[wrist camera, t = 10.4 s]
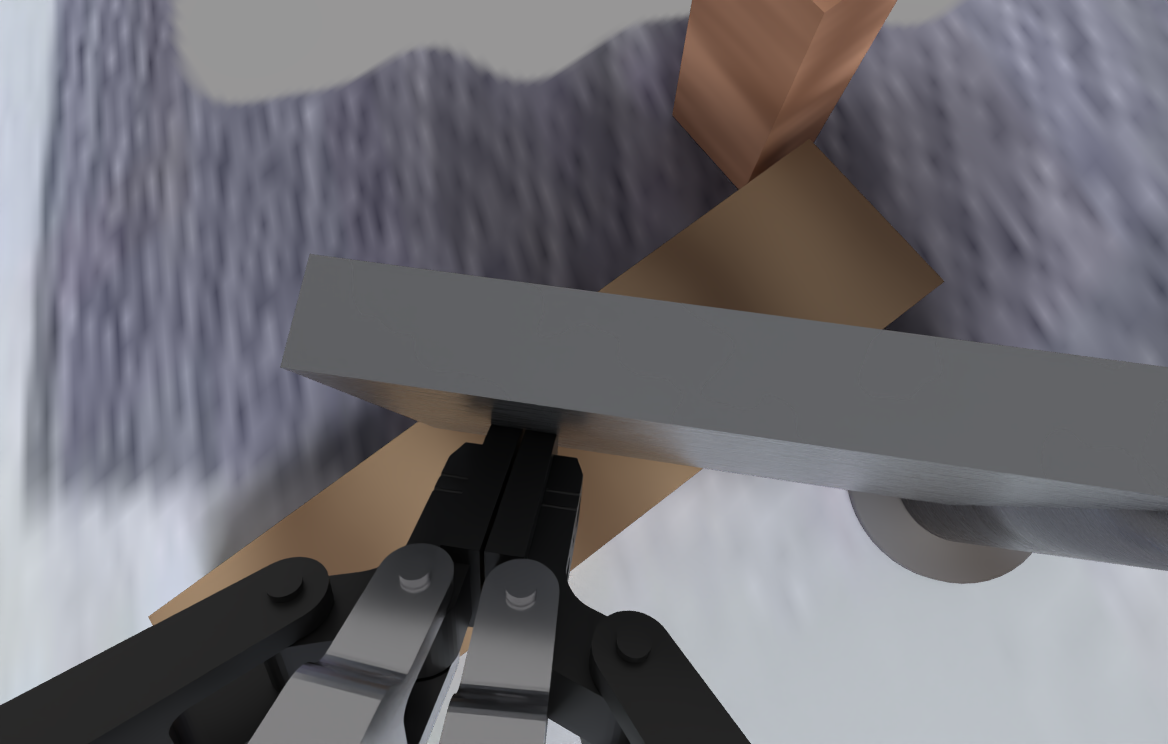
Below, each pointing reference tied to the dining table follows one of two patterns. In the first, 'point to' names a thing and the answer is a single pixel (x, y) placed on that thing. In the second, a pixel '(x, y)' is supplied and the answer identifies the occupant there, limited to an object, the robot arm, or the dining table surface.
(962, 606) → the dining table surface
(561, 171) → the dining table surface
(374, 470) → the door edge
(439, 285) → the bar
